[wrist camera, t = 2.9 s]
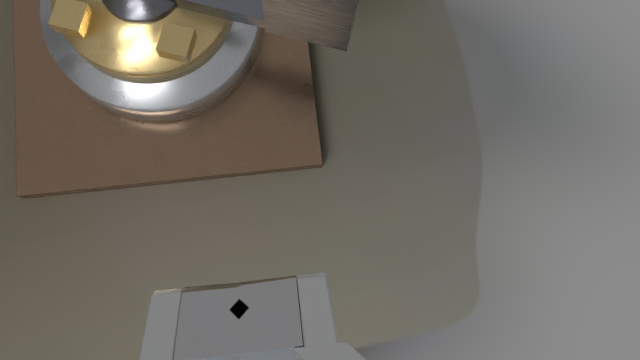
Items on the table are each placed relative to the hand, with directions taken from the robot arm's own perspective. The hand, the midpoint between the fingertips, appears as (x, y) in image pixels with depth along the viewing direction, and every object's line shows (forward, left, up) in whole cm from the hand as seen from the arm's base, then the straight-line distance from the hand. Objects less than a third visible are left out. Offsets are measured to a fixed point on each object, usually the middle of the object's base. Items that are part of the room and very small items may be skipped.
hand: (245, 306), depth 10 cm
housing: (-6, +17, -28) cm, 34 cm away
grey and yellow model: (-3, +18, -24) cm, 30 cm away
